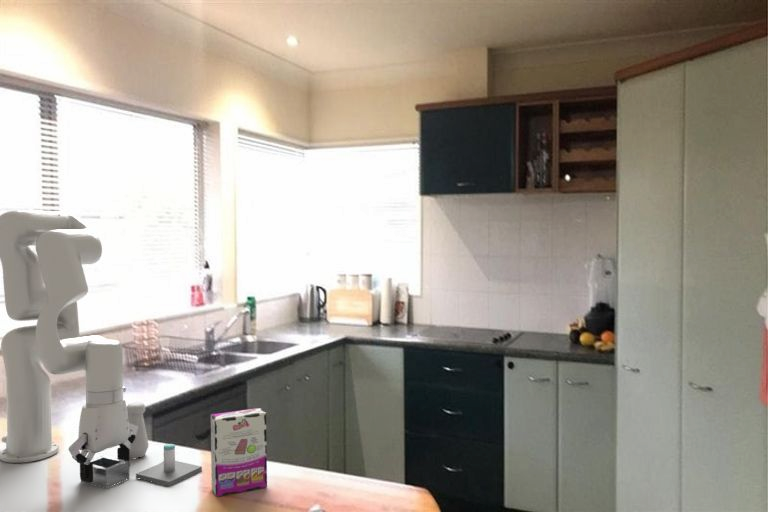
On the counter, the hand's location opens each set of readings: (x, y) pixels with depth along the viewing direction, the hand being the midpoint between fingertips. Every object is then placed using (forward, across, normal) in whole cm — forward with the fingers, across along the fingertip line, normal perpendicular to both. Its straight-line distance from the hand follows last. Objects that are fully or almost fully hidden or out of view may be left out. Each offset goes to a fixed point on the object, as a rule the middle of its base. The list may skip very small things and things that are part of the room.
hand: (105, 473), depth 138 cm
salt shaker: (+2, -14, -6) cm, 15 cm away
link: (+2, 0, 0) cm, 2 cm away
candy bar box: (+2, -10, +29) cm, 31 cm away
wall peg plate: (+2, -9, +10) cm, 13 cm away
